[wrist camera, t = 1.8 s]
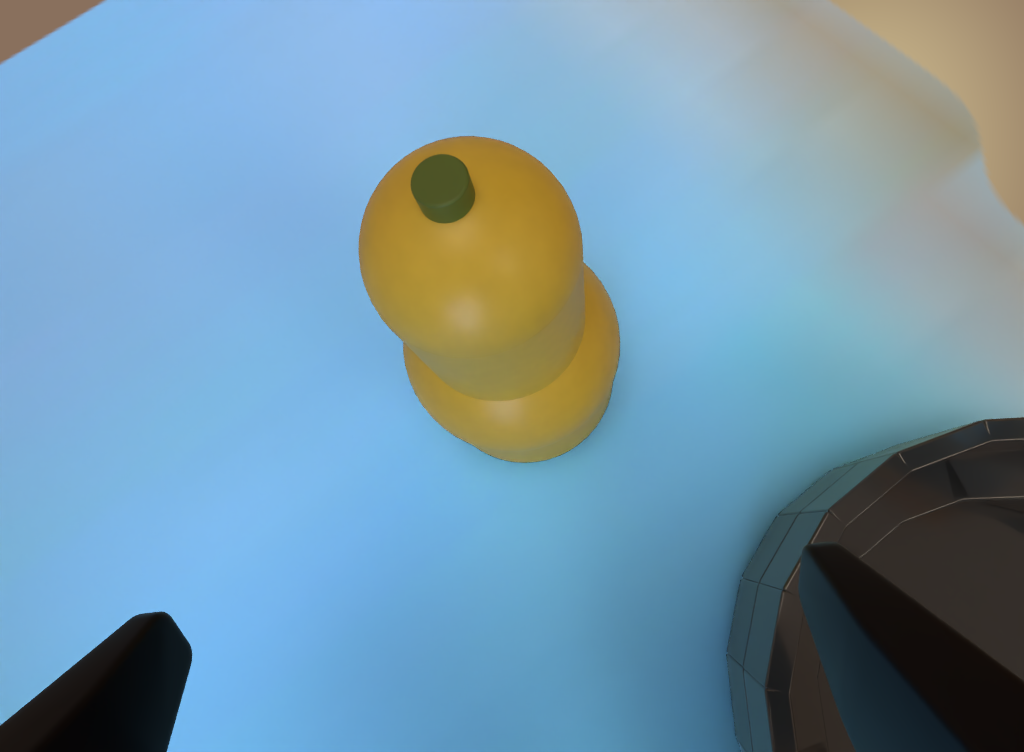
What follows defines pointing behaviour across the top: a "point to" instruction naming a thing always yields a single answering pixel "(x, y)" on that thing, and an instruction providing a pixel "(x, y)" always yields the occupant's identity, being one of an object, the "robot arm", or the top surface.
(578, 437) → the squash
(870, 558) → the black metal bowl
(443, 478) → the top surface
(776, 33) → the top surface
